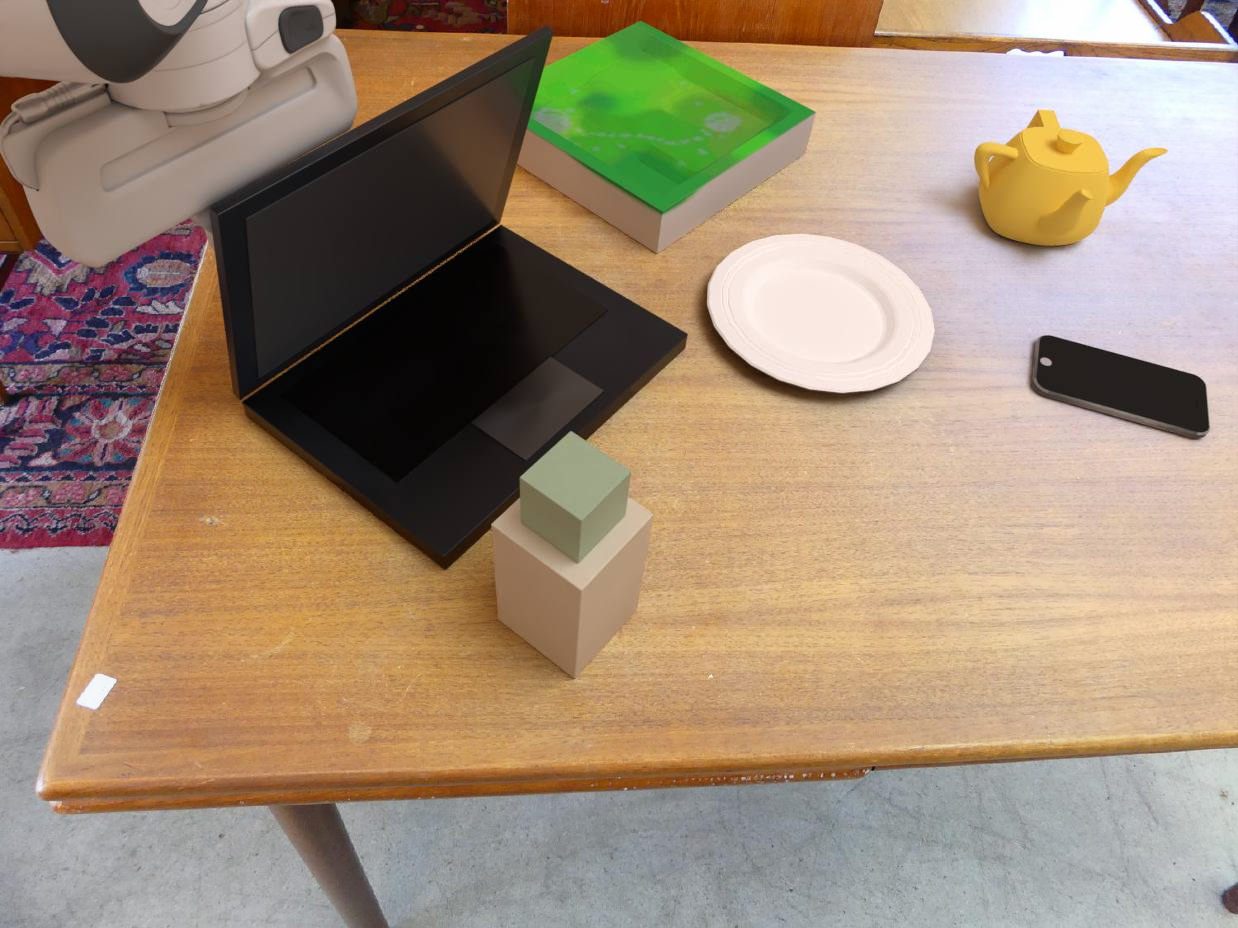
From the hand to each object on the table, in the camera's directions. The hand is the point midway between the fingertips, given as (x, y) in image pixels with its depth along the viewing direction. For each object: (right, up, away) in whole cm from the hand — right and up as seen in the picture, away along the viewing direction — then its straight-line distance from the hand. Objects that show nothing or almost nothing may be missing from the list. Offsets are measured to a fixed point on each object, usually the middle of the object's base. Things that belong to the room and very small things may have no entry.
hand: (238, 243), depth 60 cm
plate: (+43, -1, +25) cm, 50 cm away
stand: (+21, -25, +5) cm, 33 cm away
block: (+22, -18, -5) cm, 29 cm away
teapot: (+69, +11, +37) cm, 79 cm away
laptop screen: (+8, +4, +11) cm, 14 cm away
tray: (+28, +20, +40) cm, 53 cm away
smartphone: (+69, -8, +23) cm, 73 cm away
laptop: (+13, -7, +18) cm, 23 cm away
